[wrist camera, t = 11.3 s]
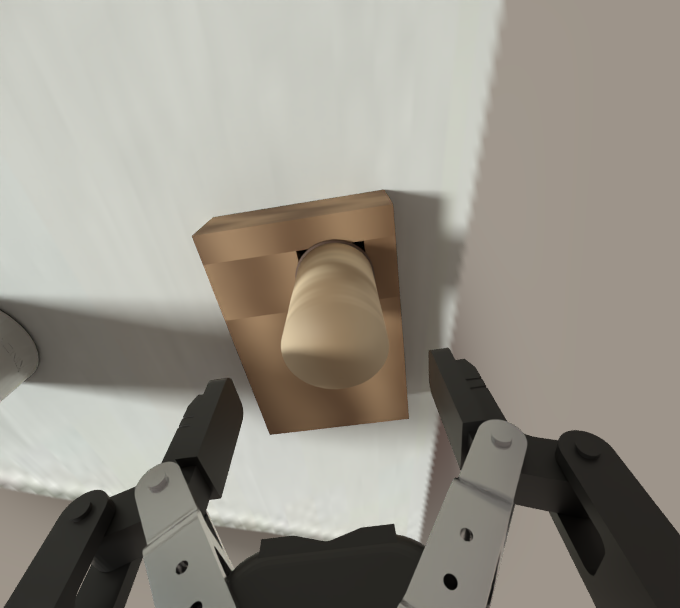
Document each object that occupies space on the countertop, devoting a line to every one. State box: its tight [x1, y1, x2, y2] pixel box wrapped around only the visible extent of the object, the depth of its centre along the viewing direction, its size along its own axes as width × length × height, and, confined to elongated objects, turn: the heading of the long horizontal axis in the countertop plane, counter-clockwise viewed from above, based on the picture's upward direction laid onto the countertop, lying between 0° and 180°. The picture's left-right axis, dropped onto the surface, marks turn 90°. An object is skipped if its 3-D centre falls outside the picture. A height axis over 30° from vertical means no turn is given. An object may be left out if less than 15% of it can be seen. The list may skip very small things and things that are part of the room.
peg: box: [281, 239, 389, 389], centre depth 20 cm, size 5×5×11 cm
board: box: [192, 190, 409, 435], centre depth 26 cm, size 12×18×4 cm, turn 9°
